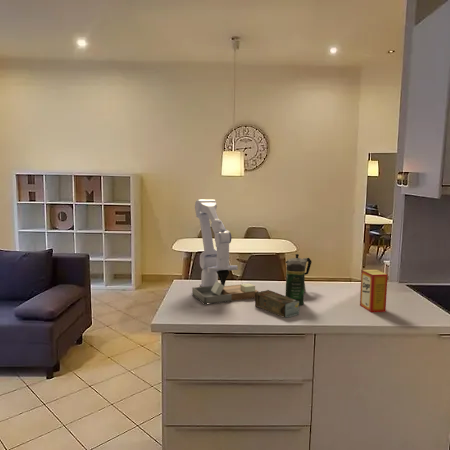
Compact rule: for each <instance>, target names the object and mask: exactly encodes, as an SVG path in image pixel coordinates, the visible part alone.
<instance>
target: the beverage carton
mask: <svg viewBox="0 0 450 450" xmlns="http://www.w3.org/2000/svg"><path fill="white" fill-rule="evenodd" d="M254 303H255V307H258V308H260V309H262V310H265V311H267V312H270V313H271V314H275V315H277V316H280V317H283V318H285V319H286V318H291V317H294V316H299V315H300V305H299V301H298V300H295V299H292V298H289V297H287V296H285V295H283V294H281V293H278V292H275V291H272V290H270V289H267V290H262V291H259V292H257V293H255V298H254Z"/></svg>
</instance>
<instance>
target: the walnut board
mask: <svg viewBox="0 0 450 450" xmlns="http://www.w3.org/2000/svg"><path fill="white" fill-rule="evenodd" d="M257 292H260V291H259V290H257V289H255V291H253V292H244V291H242V290H241V284H233V285H232V284H230V285H224V288H223V290H222V292H221V294H223V295H227V294H231V295H232V296H231V302H232V301H240V300H249V299H250V300H251V299H255V293H257Z"/></svg>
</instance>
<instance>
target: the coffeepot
mask: <svg viewBox="0 0 450 450" xmlns="http://www.w3.org/2000/svg"><path fill="white" fill-rule="evenodd" d="M299 255H300V254H298V253H296V254H295V257H292V258H288V259H287V260H285V264H287V263H288V262H290V261H291V260H292V261H300V262H302V263H303V264H304V265H305V276H306V275H308V274H309V273H310V269H311V266H312V260H311V259H310V257H306V258H305V257H304V258H300V257H299ZM306 266H307V267H306ZM305 292H306V283H305V281H304V293H305Z"/></svg>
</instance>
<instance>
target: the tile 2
mask: <svg viewBox="0 0 450 450" xmlns="http://www.w3.org/2000/svg"><path fill="white" fill-rule="evenodd" d="M240 285H241V290H242V291H244V292H253V291H255V290H256V285H254V284H252V283H242V284H240Z"/></svg>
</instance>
